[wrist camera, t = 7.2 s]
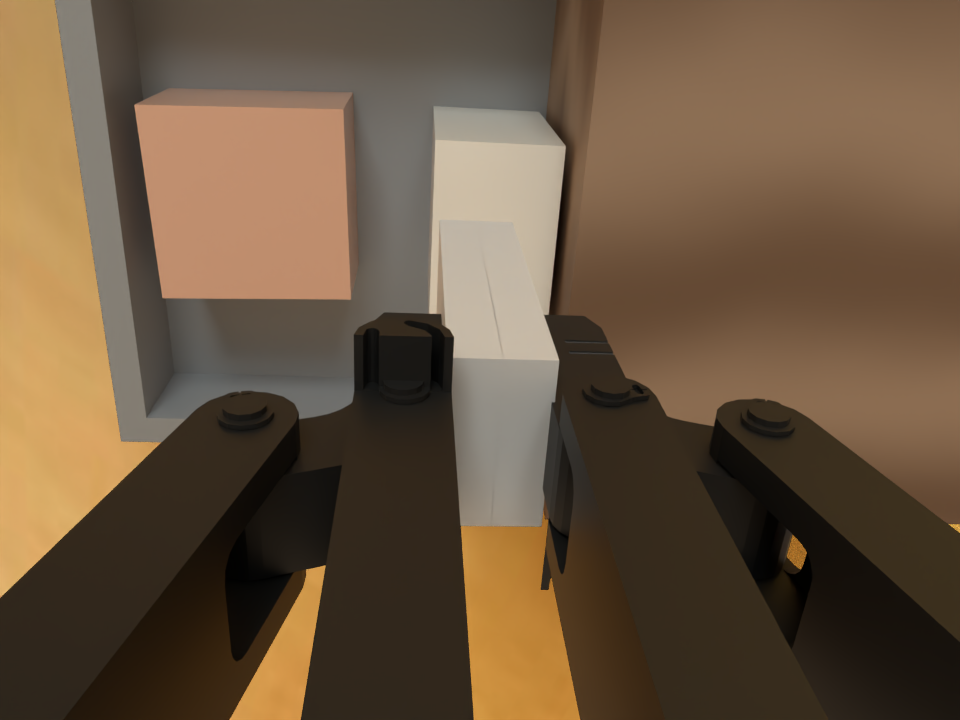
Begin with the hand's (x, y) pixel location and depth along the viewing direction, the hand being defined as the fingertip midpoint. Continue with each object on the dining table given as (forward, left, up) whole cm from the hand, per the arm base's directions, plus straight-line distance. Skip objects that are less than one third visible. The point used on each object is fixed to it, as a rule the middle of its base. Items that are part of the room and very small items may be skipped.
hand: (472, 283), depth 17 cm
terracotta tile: (0, -5, -5) cm, 7 cm away
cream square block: (0, +2, -5) cm, 6 cm away
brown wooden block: (0, +9, -8) cm, 12 cm away
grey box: (0, -4, -8) cm, 9 cm away
